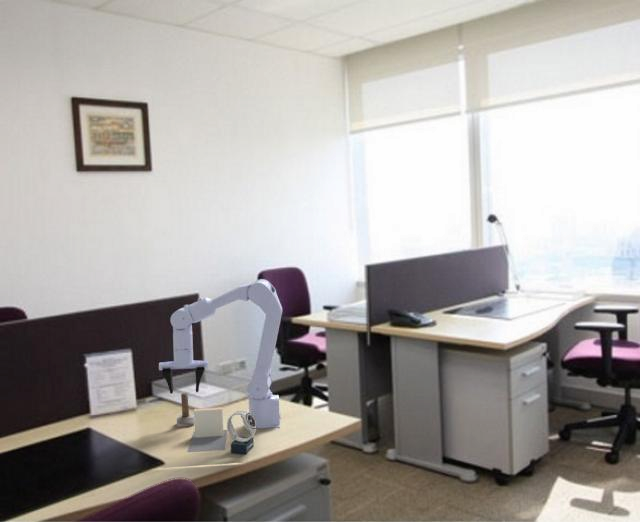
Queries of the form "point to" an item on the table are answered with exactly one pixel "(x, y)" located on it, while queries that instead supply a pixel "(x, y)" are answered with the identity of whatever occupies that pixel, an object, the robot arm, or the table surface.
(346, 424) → the table surface
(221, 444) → the mat
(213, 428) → the tile
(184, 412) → the trowel
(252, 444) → the watch
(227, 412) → the table surface
